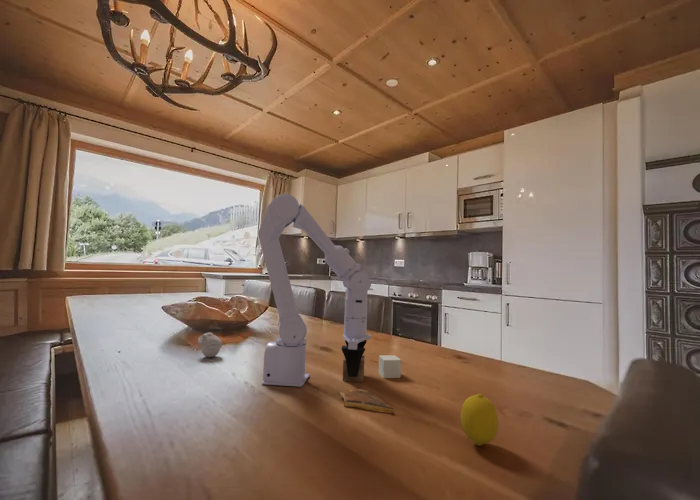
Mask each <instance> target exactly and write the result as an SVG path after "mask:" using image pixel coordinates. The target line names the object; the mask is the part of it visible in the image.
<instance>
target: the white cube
mask: <svg viewBox="0 0 700 500" xmlns="http://www.w3.org/2000/svg"><path fill="white" fill-rule="evenodd" d="M401 361H402V360H401V358H399V357H398V356H397V355H396V354H395V355H394V354H391V355H390V354H389V355H387V354H385V355H383V354H382V355H381V354H380V355H379V356H378V374H379V375H380V376H381V377H382V378H383V379H398V378H399V379H400V378H401V370H402V369H401V368H402V362H401Z"/></svg>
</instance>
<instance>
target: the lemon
mask: <svg viewBox="0 0 700 500" xmlns="http://www.w3.org/2000/svg"><path fill="white" fill-rule="evenodd" d="M497 412H498V411H497V410H496V406H495V405H494V404H493V402H492V401H491V400H490V399H488V397H486V396H484V395H483V394H482V393H477V394H474V395H471V396H470V395H469V397H467V398H466V399H465V400H464V402H463V404H462V406H461V411H460V423H461V427H462V430H463V432H464V434H465V435H466V436H467V438H468V439H469V440H470V441H472V442H474V443H475V445H476V446H478V447H481V446H483V445H485V444H488V443H490V442H492V441H493V440H495V438H496V436H497V433H498V429H499V418H498V413H497Z"/></svg>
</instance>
